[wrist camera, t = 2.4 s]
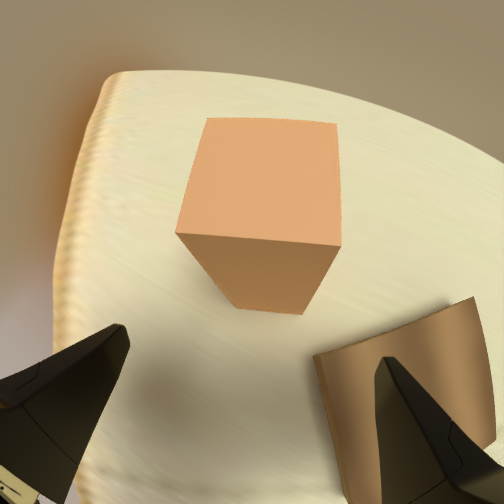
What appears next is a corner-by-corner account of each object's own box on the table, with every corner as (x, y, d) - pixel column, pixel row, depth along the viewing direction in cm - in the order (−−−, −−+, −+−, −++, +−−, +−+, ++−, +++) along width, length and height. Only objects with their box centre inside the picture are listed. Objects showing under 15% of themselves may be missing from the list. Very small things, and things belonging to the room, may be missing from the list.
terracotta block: (302, 314, 21) (341, 246, 8) (236, 308, 22) (175, 232, 9) (306, 252, 23) (336, 123, 10) (245, 247, 23) (207, 118, 10)
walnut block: (343, 494, 16) (354, 515, 12) (312, 356, 20) (320, 356, 17) (471, 433, 16) (496, 439, 12) (448, 306, 20) (473, 296, 17)
